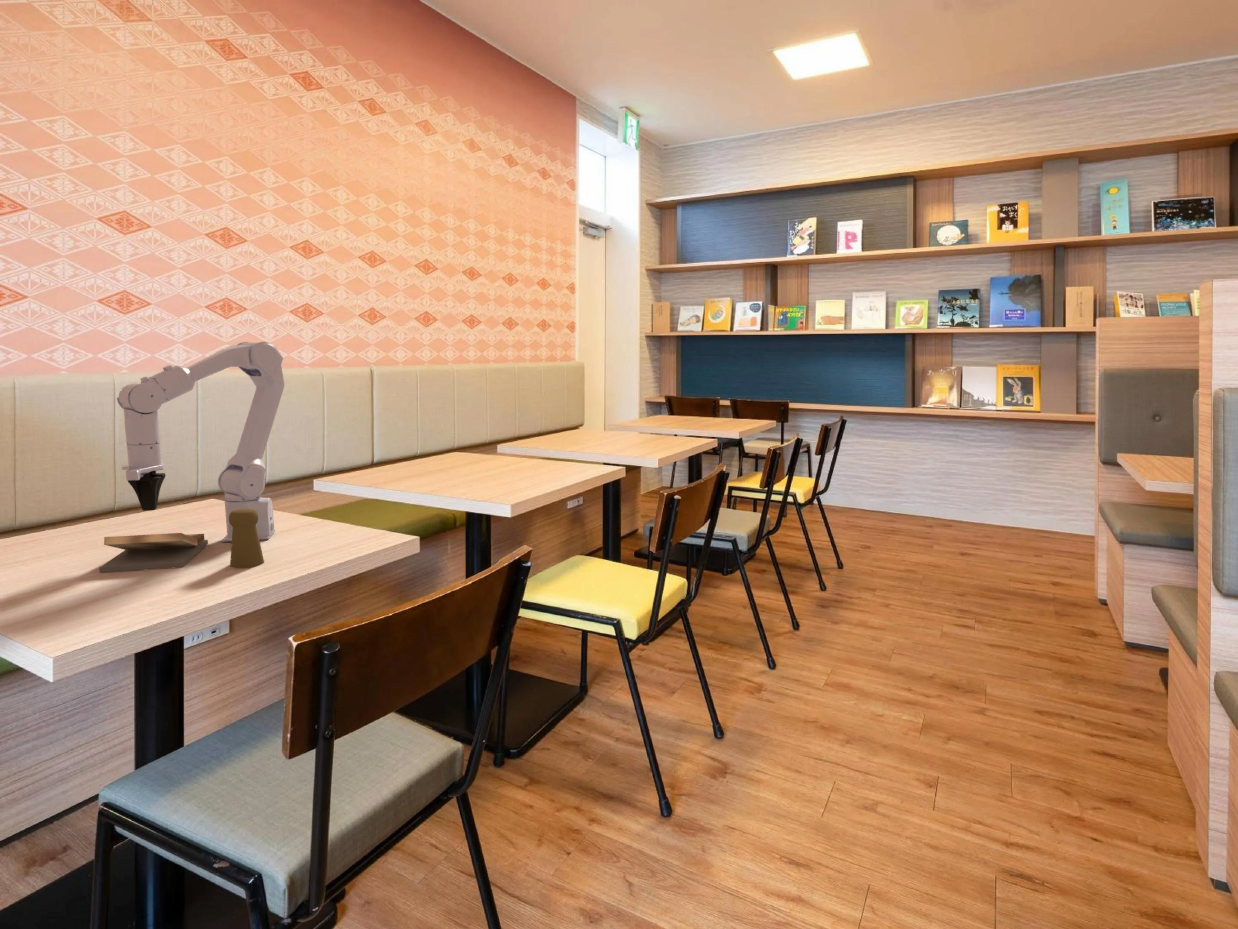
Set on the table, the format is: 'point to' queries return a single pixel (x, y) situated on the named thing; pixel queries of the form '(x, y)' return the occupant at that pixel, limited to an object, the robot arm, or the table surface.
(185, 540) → the oak plank
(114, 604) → the table surface
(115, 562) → the rubber mat
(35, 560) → the table surface
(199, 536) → the brown curved block
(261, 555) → the olive pawn
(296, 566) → the table surface
